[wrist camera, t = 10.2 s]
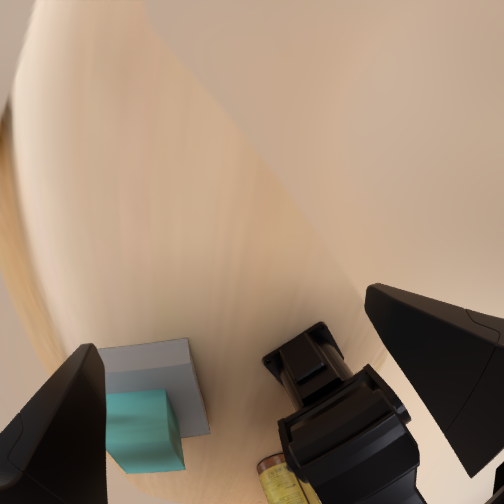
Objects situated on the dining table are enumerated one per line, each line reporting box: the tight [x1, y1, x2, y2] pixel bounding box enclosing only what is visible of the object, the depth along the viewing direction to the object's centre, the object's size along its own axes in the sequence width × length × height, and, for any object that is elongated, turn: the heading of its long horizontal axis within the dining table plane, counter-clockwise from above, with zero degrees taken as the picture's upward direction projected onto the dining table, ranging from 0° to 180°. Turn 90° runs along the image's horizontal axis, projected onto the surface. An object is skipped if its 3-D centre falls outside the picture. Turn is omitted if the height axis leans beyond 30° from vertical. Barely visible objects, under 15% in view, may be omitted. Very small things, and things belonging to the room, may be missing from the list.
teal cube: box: [106, 389, 185, 474], centre depth 19 cm, size 5×5×5 cm
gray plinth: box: [97, 338, 210, 438], centre depth 23 cm, size 10×10×3 cm
